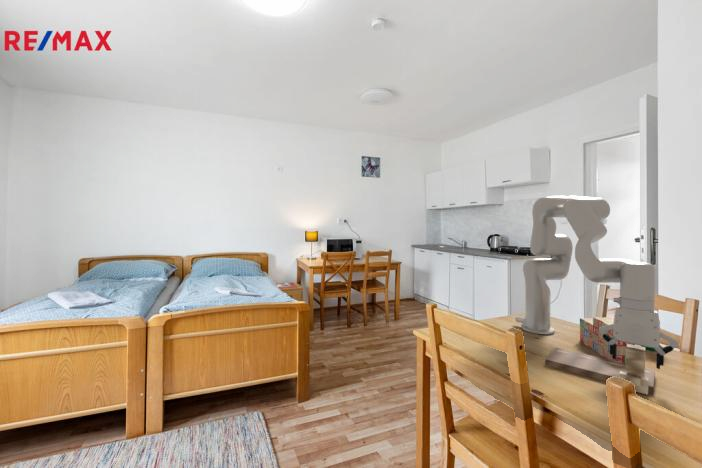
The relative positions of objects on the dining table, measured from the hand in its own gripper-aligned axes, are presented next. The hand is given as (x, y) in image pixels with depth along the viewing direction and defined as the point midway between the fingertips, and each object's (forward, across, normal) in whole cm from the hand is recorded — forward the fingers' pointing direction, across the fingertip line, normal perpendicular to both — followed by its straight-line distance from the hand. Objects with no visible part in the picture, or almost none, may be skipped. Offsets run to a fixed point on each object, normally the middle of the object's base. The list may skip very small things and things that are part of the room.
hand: (635, 362), depth 94 cm
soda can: (+6, +2, +37) cm, 38 cm away
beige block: (+6, 0, -1) cm, 6 cm away
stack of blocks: (+6, -10, +23) cm, 26 cm away
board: (+6, -9, +2) cm, 11 cm away
